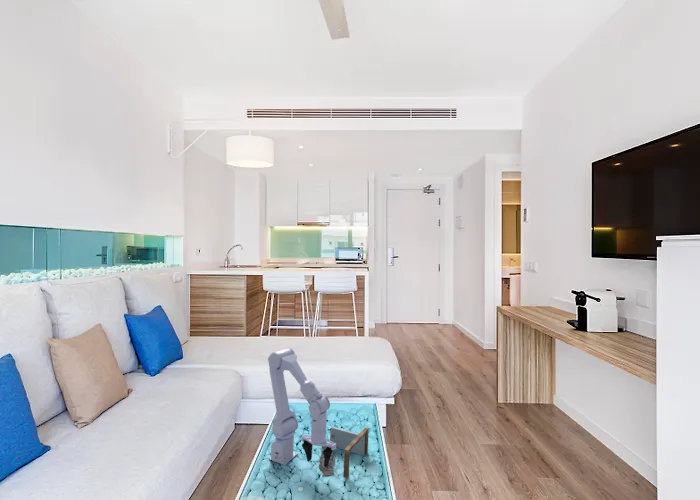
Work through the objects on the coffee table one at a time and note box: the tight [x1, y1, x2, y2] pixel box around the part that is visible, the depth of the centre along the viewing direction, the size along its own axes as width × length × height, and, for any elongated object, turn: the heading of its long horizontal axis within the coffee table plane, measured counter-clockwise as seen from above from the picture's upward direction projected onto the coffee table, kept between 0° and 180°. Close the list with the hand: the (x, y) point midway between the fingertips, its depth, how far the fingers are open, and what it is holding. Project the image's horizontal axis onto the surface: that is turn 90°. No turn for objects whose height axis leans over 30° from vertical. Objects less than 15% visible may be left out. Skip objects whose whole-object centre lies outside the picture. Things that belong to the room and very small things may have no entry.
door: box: [329, 426, 365, 456], centre depth 174 cm, size 16×2×8 cm, turn 64°
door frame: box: [342, 427, 370, 479], centre depth 164 cm, size 20×2×11 cm, turn 154°
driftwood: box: [318, 446, 336, 477], centre depth 165 cm, size 21×7×2 cm, turn 178°
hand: (317, 463), depth 157 cm, fingers open, 7 cm apart
